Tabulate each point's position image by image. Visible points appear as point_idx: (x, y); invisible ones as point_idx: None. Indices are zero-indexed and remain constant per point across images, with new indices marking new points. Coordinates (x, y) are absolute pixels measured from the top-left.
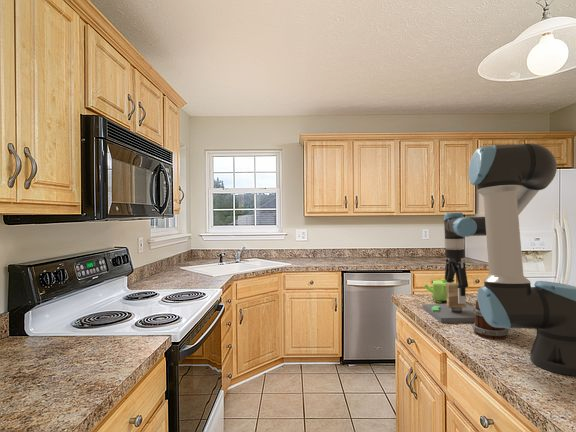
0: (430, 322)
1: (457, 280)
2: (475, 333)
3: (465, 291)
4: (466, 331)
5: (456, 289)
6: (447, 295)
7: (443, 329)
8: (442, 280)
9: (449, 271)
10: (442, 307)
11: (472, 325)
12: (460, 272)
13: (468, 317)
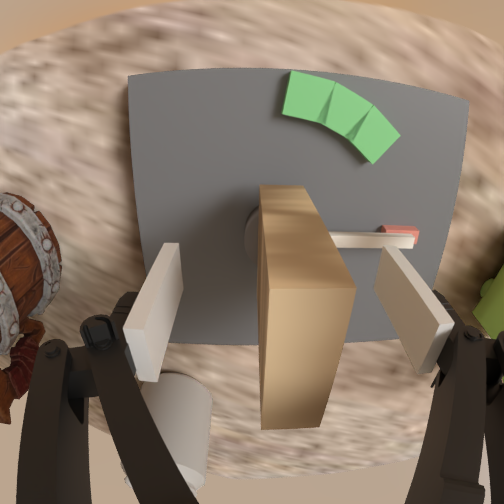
0: (154, 22)
1: (135, 401)
2: (3, 193)
3: (259, 372)
4: (25, 167)
5: (263, 325)
6: (300, 217)
7: (43, 69)
8: None
9: (450, 462)
10: (382, 183)
11: (13, 203)
12: (20, 496)
13: (143, 242)
